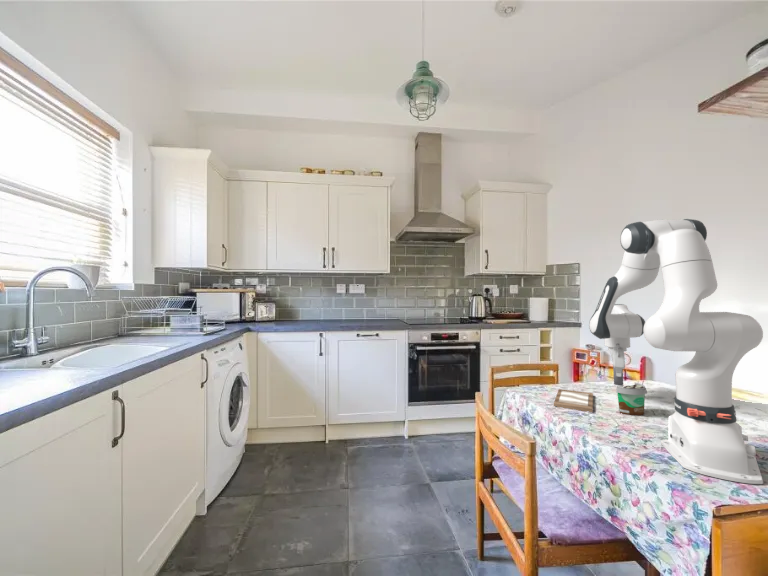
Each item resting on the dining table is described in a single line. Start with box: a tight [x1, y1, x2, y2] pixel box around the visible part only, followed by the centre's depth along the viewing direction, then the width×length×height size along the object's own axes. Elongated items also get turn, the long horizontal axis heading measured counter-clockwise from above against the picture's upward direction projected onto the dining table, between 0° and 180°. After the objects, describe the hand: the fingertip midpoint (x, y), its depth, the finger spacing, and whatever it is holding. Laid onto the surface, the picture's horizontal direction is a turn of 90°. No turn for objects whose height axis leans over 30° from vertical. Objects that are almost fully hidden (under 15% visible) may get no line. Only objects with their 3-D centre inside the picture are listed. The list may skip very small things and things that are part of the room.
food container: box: [615, 382, 648, 417], centre depth 118 cm, size 12×6×10 cm, turn 114°
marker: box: [612, 364, 625, 388], centre depth 135 cm, size 3×3×12 cm
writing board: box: [553, 388, 594, 413], centre depth 133 cm, size 22×13×1 cm, turn 147°
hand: (618, 374), depth 135 cm, fingers closed on marker, 3 cm apart
